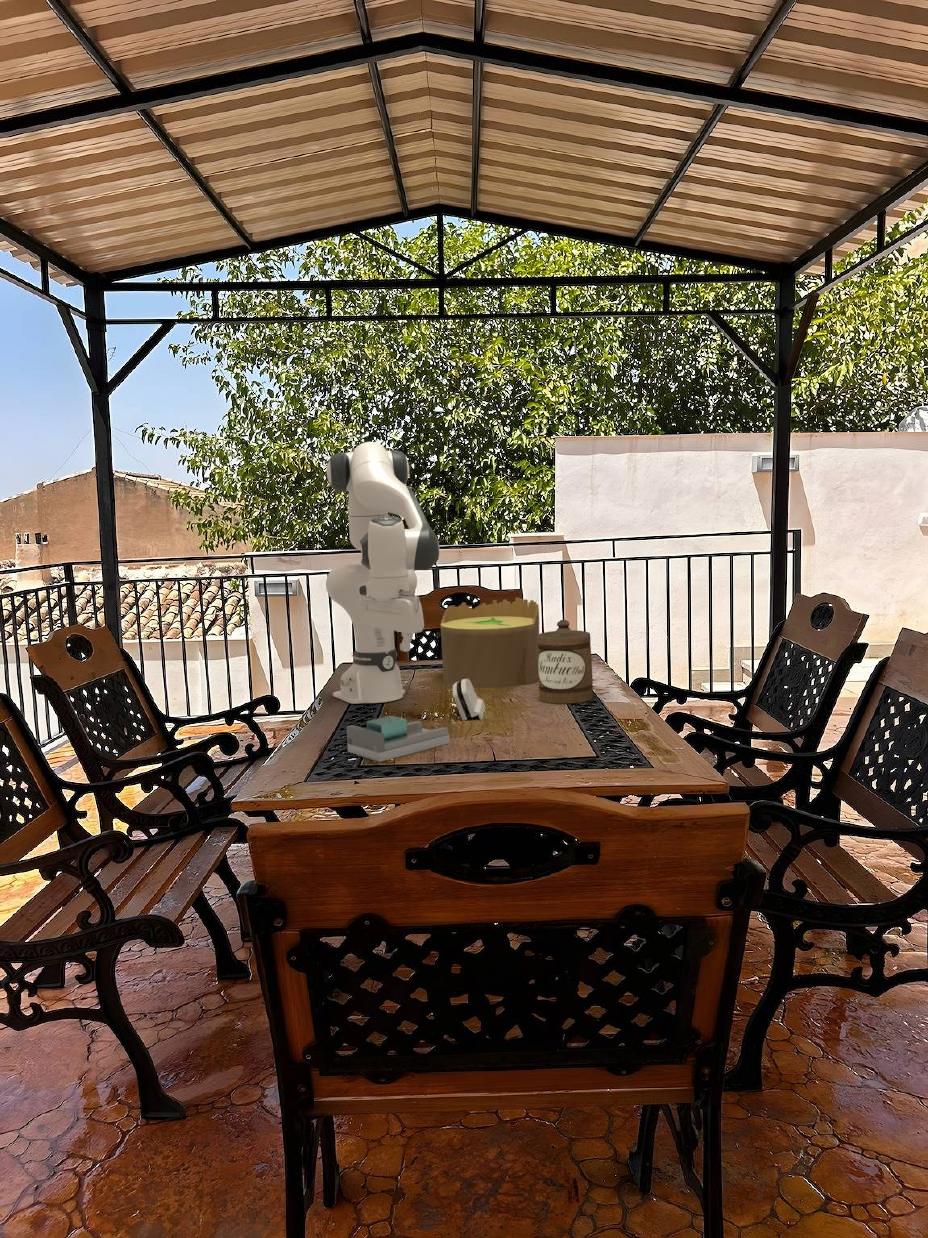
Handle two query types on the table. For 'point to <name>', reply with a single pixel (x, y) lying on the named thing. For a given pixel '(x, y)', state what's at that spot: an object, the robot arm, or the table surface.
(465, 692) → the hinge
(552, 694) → the wooden container
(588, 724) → the table surface
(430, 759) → the table surface
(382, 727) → the block
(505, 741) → the table surface
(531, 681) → the brown wide cylinder
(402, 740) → the guide channel
